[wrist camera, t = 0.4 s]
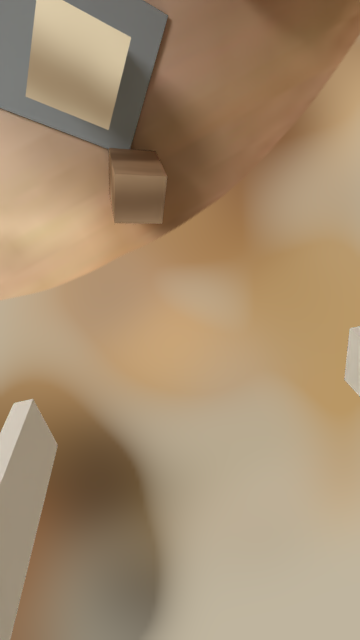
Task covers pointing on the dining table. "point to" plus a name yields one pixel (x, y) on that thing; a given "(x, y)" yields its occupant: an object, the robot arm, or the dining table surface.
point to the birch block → (75, 62)
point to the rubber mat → (146, 33)
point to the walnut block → (136, 186)
